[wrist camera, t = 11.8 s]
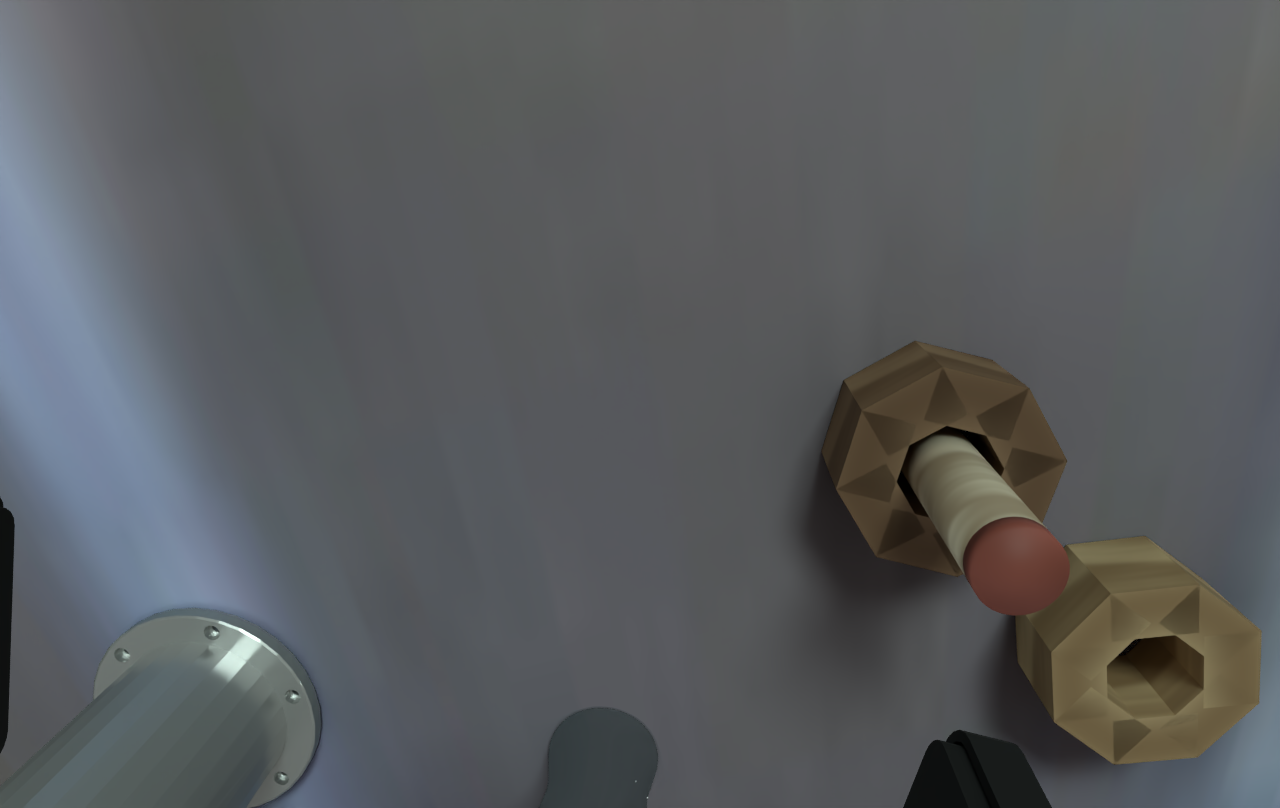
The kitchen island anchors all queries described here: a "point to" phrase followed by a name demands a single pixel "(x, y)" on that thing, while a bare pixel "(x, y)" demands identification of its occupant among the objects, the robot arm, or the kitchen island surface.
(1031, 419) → the walnut bead
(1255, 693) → the oak bead
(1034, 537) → the cream and red cylinder
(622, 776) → the beer glass
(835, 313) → the kitchen island surface
